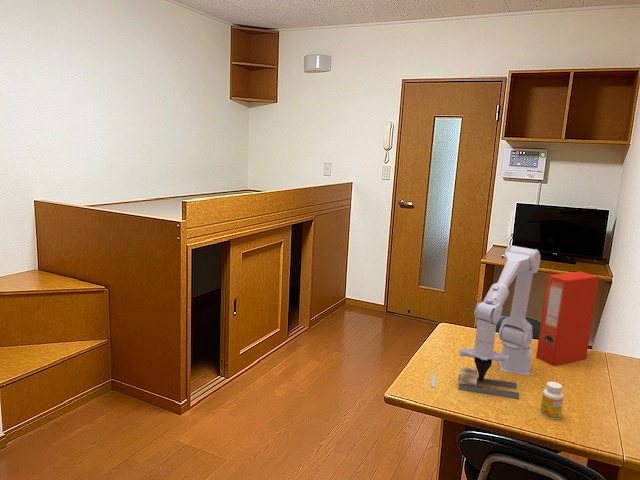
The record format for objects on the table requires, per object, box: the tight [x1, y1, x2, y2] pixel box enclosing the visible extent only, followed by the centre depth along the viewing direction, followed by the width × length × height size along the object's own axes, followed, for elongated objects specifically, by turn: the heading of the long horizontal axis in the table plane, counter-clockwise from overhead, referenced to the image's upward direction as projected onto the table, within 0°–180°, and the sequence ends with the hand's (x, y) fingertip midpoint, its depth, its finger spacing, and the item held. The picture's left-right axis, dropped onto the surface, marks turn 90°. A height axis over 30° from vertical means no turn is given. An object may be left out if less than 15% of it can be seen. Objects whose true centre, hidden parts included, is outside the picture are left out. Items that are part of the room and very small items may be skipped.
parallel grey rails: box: [457, 373, 520, 400], centre depth 156 cm, size 18×8×2 cm, turn 74°
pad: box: [430, 373, 437, 389], centre depth 160 cm, size 8×9×1 cm
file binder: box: [535, 270, 600, 367], centre depth 179 cm, size 8×17×32 cm, turn 115°
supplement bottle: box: [540, 381, 564, 420], centre depth 142 cm, size 5×5×10 cm
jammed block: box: [459, 366, 478, 386], centre depth 157 cm, size 5×5×5 cm
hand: (480, 379), depth 156 cm, fingers closed
